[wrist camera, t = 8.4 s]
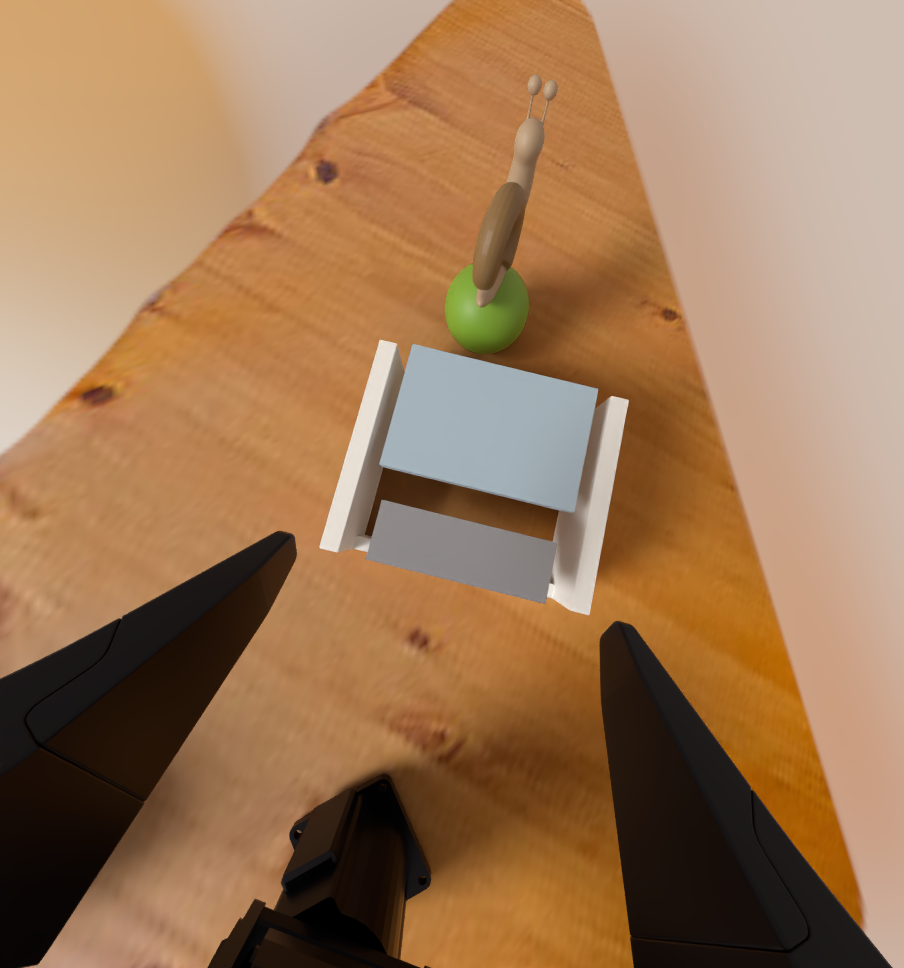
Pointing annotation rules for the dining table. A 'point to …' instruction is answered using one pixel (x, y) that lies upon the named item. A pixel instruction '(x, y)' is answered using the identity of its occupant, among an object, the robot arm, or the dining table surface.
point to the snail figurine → (499, 252)
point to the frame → (573, 530)
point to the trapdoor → (482, 467)
